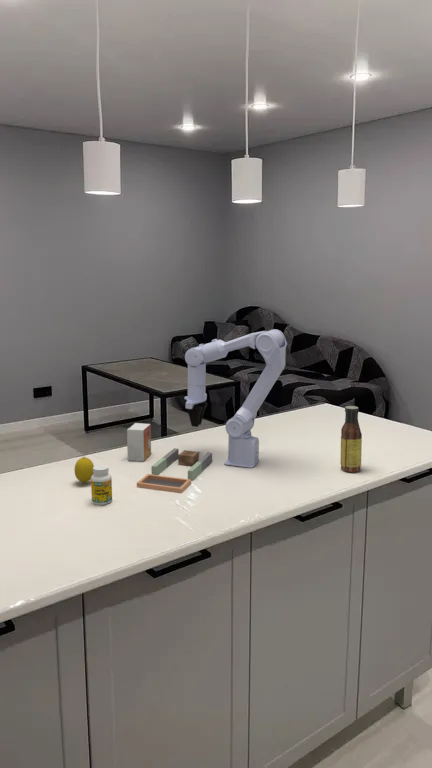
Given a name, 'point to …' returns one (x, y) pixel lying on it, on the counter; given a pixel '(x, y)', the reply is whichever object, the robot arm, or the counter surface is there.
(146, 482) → the tray
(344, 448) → the sauce bottle
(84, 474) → the lemon
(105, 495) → the supplement bottle
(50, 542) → the counter surface
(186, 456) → the walnut block
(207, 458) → the green and grey bars
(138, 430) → the small box
